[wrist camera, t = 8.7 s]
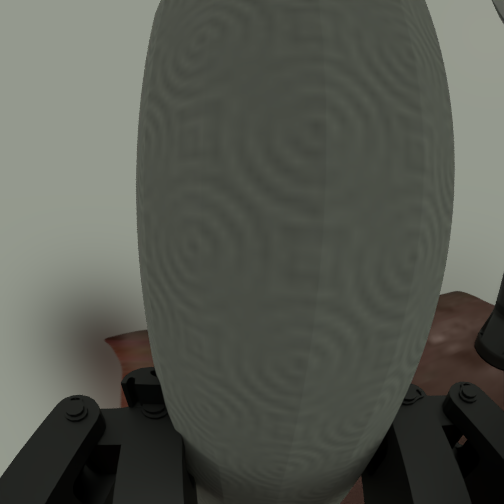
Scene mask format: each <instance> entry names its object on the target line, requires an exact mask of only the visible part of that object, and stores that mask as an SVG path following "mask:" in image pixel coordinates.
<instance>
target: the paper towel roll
mask: <svg viewBox="0 0 504 504" xmlns="http://www.w3.org/2000/svg"><path fill="white" fill-rule="evenodd" d="M137 142H138V143H137V168H136V204H137V233H138V249H139V262H140V273H141V283H142V292H143V300H144V308H145V315H146V322H147V328H148V334H149V340H150V346H151V351H152V357H153V362H154V367H155V371H156V375H157V378H158V379H159V382H160V384H161V388H162V393H163V397H164V401H165V405H166V408H167V411H168V414H169V416H170V419H171V421H172V423H173V426H174V428H175V430H176V431H178V432H179V433H180V434H181V435H182V438H183V442H184V446H185V461H186V468H187V471H188V473H190V474H191V475H192V476H193V477H194V479H195V482H196V489H197V500H198V504H340V503H341V501H342V500H343V499H344V498H345V496H346V495H347V494H348V492H349V491H350V490H351V488H352V487H353V486H354V484H355V483H356V481H357V480H358V478H359V477H360V476H361V474H362V473H363V471H364V470H365V468H366V467H367V465H368V464H369V462H370V460H371V459H372V457H373V456H374V454H375V452H376V451H377V449H378V447H379V446H380V444H381V442H382V440H383V439H384V437H385V435H386V433H387V431H388V430H389V428H390V426H391V424H392V422H393V420H394V418H395V416H396V414H397V412H398V410H399V408H400V406H401V404H402V402H403V399H404V397H405V395H406V393H407V391H408V388H409V386H410V384H411V381H412V379H413V376H414V374H415V371H416V369H417V366H418V363H419V361H420V358H421V355H422V352H423V350H424V347H425V344H426V341H427V338H428V334H429V331H430V328H431V325H432V321H433V318H434V314H435V310H436V307H437V303H438V299H439V294H440V290H441V285H442V281H443V276H444V271H445V266H446V260H447V254H448V247H449V240H450V232H451V223H452V213H453V200H454V167H455V166H454V135H453V122H452V112H451V103H450V96H449V90H448V83H447V77H446V72H445V68H444V62H443V58H442V54H441V50H440V46H439V42H438V38H437V35H436V31H435V28H434V25H433V22H432V19H431V15H430V13H429V10H428V7H427V4H426V2H425V0H161V1H160V3H159V6H158V8H157V11H156V13H155V17H154V22H153V26H152V31H151V36H150V40H149V46H148V52H147V57H146V64H145V70H144V77H143V85H142V93H141V102H140V113H139V125H138V141H137Z"/></svg>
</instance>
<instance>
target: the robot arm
mask: <svg viewBox="0 0 504 504" xmlns="http://www.w3.org/2000/svg"><path fill="white" fill-rule="evenodd" d="M492 2H493V4H494V6H495V9H496V11H497V13H498V15H499V17H500V18H501V20H502V22H503V23H504V0H492ZM475 347H476V350H477V352H478V353H479V354H480V356H481V357H482V358H483V359H485V360H486V361H487V362H488V363H490V364H492V365H493V366H495V367H497V368H500V369H503V370H504V274H503V278H502V282H501V286H500V290H499V293H498V297H497V301H496V304H495V307H494V310H493V312H492V313H491V315H490V316H489V318H488V319H487V321H486V322H485V324H484V325H483V327H482V328H481V330H480V331H479V333H478V336H477V339H476V341H475ZM121 385H122V388H123V391H124V394H125V397H126V400H127V403H128V406H129V407H125V408H117V409H100V408H99V406H98V404H97V403H96V402H95V400H93V399H92V398H90V397H88V396H83V395H74V396H70V397H67V398H65V399H63V400H62V401H61V402H60V403H58V404H57V405H56V407H55V408H54V409H53V410H52V411H51V413H50V414H49V415H48V416H47V418H46V419H45V420H44V421H43V423H42V424H41V425H40V426H39V428H38V429H37V430H36V431H35V432H34V434H33V435H32V436H31V438H30V439H29V440H28V441H27V443H26V444H25V446H24V447H23V448H22V449H21V450H20V452H19V453H18V454H17V456H16V457H15V458H14V460H13V461H12V463H11V464H10V465H9V467H8V468H7V469H6V471H5V472H4V473H3V475H2V476H1V478H0V504H198V500H197V489H196V482H195V479H194V477H193V476H192V475H191V474H190V473H188V471H187V468H186V461H185V446H184V442H183V438H182V435H181V434H180V433H179V432H178V431H176V430H175V428H174V426H173V423H172V421H171V419H170V416H169V414H168V411H167V408H166V405H165V401H164V397H163V393H162V388H161V384H160V382H159V379H158V378H157V375H156V371H155V368H154V367H148V368H140V369H137V370H134V371H132V372H130V373H129V374H128V375H126V376H125V377H124V379H123V380H122V382H121ZM462 435H464V436H465V437H466V438H467V439H468V440H467V441H466V442H465V444H464V445H460V444H459V443H458V441H459V440H460V438H461V437H462ZM361 476H362V484H363V493H364V502H365V504H504V411H503V410H502V409H501V408H500V407H499V406H498V405H497V404H496V403H495V402H494V401H493V400H491V399H490V398H489V397H488V396H487V395H486V394H485V393H484V392H483V391H482V390H481V389H480V388H479V387H477V386H476V385H474V384H472V383H469V382H458V383H455V384H454V385H453V386H451V388H450V390H449V392H448V394H447V395H445V396H427V395H426V394H425V392H424V391H423V390H422V389H421V388H419V387H418V386H416V385H414V384H410V386H409V388H408V391H407V393H406V395H405V397H404V399H403V402H402V404H401V406H400V408H399V410H398V412H397V414H396V416H395V418H394V420H393V422H392V424H391V426H390V428H389V430H388V431H387V433H386V435H385V437H384V439H383V440H382V442H381V444H380V446H379V447H378V449H377V451H376V452H375V454H374V456H373V457H372V459H371V460H370V462H369V464H368V465H367V467H366V468H365V470H364V471H363V473H362V474H361Z"/></svg>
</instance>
